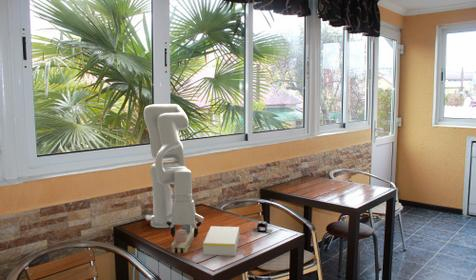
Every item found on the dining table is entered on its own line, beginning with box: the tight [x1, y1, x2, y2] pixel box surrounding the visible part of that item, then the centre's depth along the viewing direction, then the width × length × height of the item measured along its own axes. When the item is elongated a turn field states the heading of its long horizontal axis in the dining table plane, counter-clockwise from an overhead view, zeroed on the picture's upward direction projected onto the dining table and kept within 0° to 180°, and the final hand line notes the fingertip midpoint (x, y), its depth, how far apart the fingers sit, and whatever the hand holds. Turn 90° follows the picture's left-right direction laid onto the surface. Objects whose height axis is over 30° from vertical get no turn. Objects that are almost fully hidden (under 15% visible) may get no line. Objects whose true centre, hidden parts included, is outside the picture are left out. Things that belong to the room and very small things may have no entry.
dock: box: [202, 225, 240, 257], centre depth 172 cm, size 13×20×5 cm, turn 175°
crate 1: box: [174, 229, 187, 242], centre depth 169 cm, size 4×4×4 cm
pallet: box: [171, 227, 195, 254], centre depth 175 cm, size 6×20×4 cm, turn 175°
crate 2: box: [180, 225, 193, 233], centre depth 180 cm, size 4×4×4 cm
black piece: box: [251, 220, 274, 234], centre depth 191 cm, size 12×7×5 cm, turn 70°
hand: (184, 236), depth 174 cm, fingers open, 9 cm apart
